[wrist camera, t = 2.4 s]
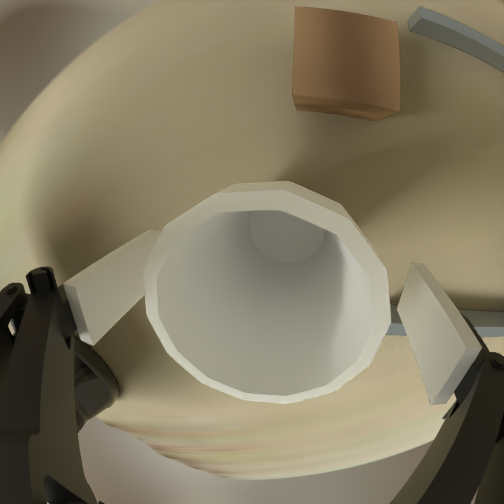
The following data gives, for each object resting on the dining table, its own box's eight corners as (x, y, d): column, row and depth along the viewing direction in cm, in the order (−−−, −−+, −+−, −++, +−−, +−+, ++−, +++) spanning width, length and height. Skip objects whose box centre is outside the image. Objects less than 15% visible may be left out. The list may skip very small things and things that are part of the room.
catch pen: (375, 314, 23) (382, 334, 20) (407, 20, 13) (419, 6, 10) (510, 320, 20) (522, 335, 17) (550, 95, 10) (566, 95, 7)
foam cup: (369, 234, 20) (429, 336, 8) (283, 298, 24) (255, 423, 12) (290, 139, 19) (264, 123, 7) (207, 218, 23) (108, 294, 11)
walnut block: (296, 110, 18) (292, 94, 13) (299, 41, 16) (295, 6, 10) (375, 120, 17) (400, 111, 12) (376, 51, 15) (397, 22, 10)
